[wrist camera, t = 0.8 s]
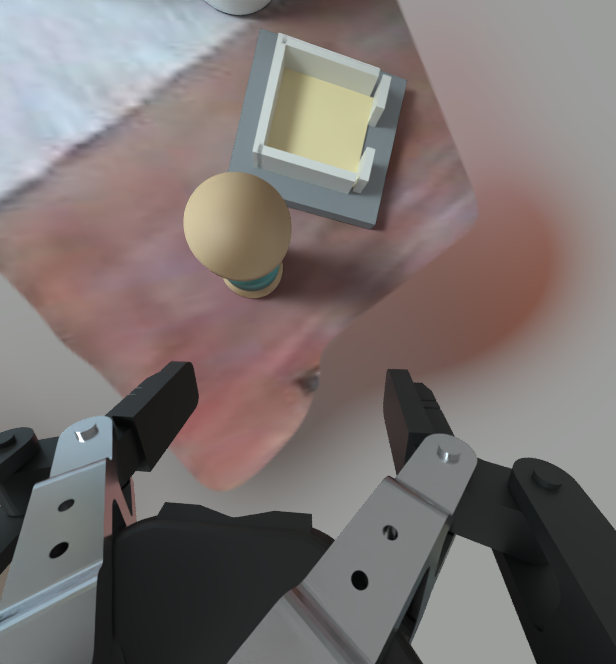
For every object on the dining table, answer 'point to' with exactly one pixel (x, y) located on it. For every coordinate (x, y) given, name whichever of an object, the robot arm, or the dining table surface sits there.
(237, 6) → the fruit juice
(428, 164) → the dining table surface
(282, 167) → the white grey square tray
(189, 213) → the spool
